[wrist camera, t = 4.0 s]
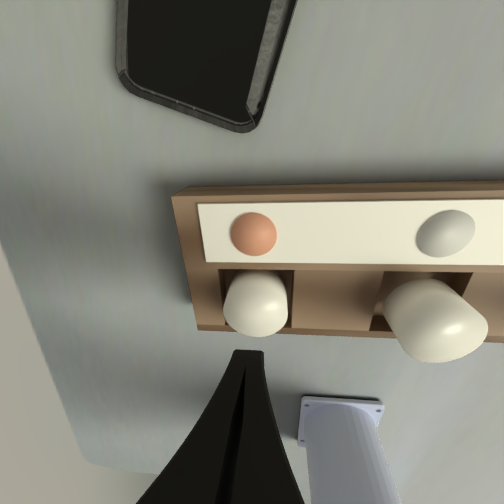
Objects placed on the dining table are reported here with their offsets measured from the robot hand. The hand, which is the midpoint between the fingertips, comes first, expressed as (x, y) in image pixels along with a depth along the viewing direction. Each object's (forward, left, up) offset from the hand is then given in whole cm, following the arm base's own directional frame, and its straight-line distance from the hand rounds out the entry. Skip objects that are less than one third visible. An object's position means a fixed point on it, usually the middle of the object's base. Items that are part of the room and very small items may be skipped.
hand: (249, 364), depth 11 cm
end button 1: (0, 0, -6) cm, 6 cm away
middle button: (0, -10, -5) cm, 11 cm away
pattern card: (+5, -10, -5) cm, 12 cm away
